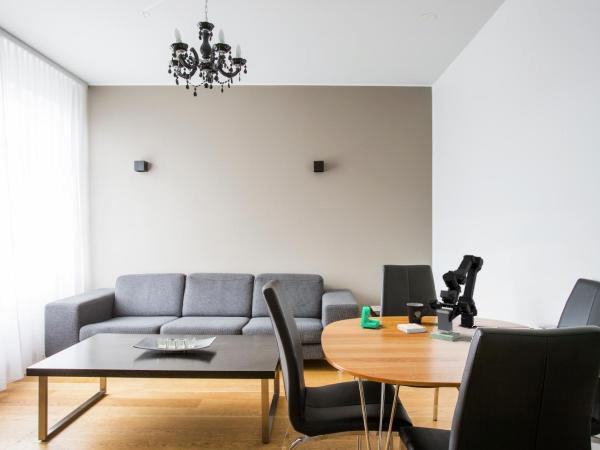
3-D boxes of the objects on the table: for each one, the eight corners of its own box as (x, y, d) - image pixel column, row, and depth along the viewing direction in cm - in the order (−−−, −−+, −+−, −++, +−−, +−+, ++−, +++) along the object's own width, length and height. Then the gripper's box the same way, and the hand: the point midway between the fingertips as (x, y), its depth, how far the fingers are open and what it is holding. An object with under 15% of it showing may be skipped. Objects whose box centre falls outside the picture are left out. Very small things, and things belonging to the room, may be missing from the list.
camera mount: (375, 329, 199) (375, 309, 199) (360, 328, 202) (360, 308, 202) (380, 324, 210) (379, 305, 210) (365, 323, 213) (365, 304, 213)
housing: (441, 329, 187) (441, 308, 188) (453, 331, 184) (453, 309, 184) (436, 331, 183) (436, 309, 184) (448, 333, 180) (448, 311, 180)
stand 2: (439, 333, 190) (439, 329, 191) (459, 337, 184) (459, 332, 184) (430, 337, 183) (430, 333, 183) (451, 341, 176) (451, 337, 176)
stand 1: (415, 327, 203) (415, 323, 203) (425, 332, 193) (425, 327, 194) (397, 328, 201) (397, 324, 201) (407, 333, 191) (407, 329, 191)
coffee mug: (406, 324, 210) (406, 305, 210) (407, 320, 219) (407, 302, 219) (429, 325, 207) (429, 306, 207) (429, 322, 215) (428, 303, 215)
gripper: (429, 282, 193) (419, 307, 185) (468, 285, 181) (459, 313, 172) (436, 296, 199) (426, 321, 190) (474, 300, 186) (466, 327, 178)
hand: (443, 320), depth 183 cm, fingers closed on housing, 5 cm apart
